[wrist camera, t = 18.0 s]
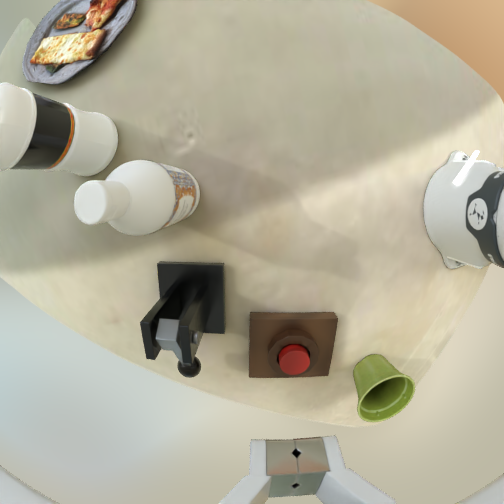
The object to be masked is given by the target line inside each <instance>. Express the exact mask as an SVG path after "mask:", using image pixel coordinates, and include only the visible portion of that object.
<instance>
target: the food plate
mask: <svg viewBox="0 0 504 504" xmlns="http://www.w3.org/2000/svg"><path fill="white" fill-rule="evenodd" d="M136 8H137V0H61V1H60V2H59V3H57V4H56V5H55V6H54V7H53V8H52V9H51V10H50V11H49V12H48V13H47V15H46V16H45V17H44V18H43V19H42V21H41V22H40V24H39V25H38V26H37V28H36V29H35V31H34V33H33V35H32V36H31V38H30V40H29V41H28V43H27V47H26V51H25V54H24V57H23V66H22V67H23V68H22V69H23V73H24V76H25V77H26V79H27V80H28V81H29V82H38V83H48V84H55V83H56V84H58V83H63V82H65V81H68V80H69V79H71V78H73V77H74V76H76V75H77V74H78V73H79V72H81V71H83V70H84V69H85V68H86V67H88V66H89V65H91V64H93V63H94V62H95V61H96V60H97V59H98V58H99V56H101V55H102V54H103V53H104V52H106V51H107V50H108V49H109V47H110V46H111V45H112V43H113V41H114V40H116V38H117V37H118V36H119V34H120V33H121V32H122V31H123V29H124V28H125V27H126V25H127V24H128V23H129V22H130V21H131V19H132V17H133V15H134V13H135V11H136Z"/></svg>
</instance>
